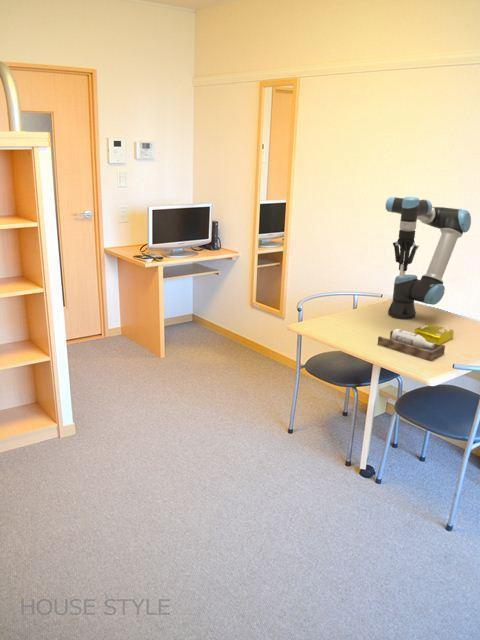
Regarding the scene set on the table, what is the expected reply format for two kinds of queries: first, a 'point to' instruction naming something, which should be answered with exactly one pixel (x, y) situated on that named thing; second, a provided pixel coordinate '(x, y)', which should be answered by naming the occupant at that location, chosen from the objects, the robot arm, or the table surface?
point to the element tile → (434, 333)
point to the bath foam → (411, 339)
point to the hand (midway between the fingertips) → (401, 276)
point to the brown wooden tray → (412, 348)
